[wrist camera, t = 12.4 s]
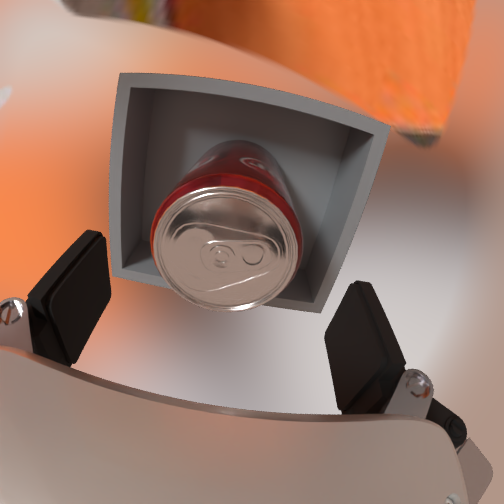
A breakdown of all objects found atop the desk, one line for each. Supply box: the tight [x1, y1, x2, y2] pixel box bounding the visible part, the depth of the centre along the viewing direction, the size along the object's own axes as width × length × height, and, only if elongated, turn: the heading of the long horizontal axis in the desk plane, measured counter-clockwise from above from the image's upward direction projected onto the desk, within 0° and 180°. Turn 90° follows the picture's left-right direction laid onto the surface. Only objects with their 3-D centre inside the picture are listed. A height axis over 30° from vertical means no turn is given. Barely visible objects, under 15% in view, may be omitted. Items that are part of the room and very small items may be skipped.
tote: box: [109, 73, 391, 313], centre depth 21 cm, size 18×16×6 cm
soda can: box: [150, 140, 303, 312], centre depth 18 cm, size 7×7×12 cm
